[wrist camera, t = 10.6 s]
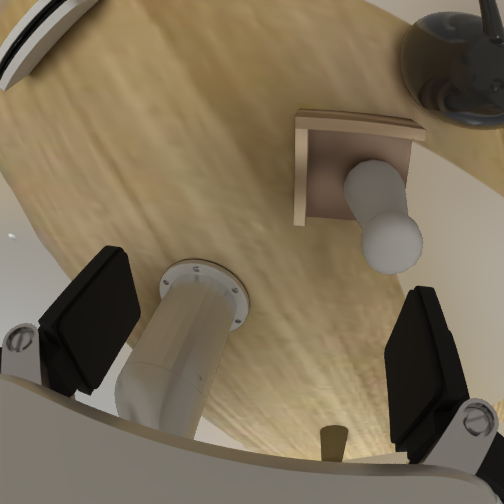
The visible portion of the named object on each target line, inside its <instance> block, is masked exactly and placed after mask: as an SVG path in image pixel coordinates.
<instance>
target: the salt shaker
mask: <svg viewBox="0 0 504 504" xmlns="http://www.w3.org/2000/svg"><path fill="white" fill-rule="evenodd" d="M344 198H345V200H346V202H347V203H348V205H349V207H350V209H351V211H352V212H353V214H354V216H355V217H356V219H357V221H358V223H359V224H360V226H361V228H362V230H363V231H362V233H361V248H362V253H363V255H364V257H365V259H366V261H367V263H368V265H369V266H370V267H371V268H373V269H374V270H376V271H377V272H379V273H383V274H389V275H393V274H397V273H402V272H404V271H406V270H408V269H409V268H410V267H412V266H413V265H415V264H416V262H417V261H418V259H419V257H420V256H421V254H422V247H423V238H422V235H421V232H420V230H419V228H418V225H417V224H416V222H415V221H414V220H413V219H412V218H410V217H409V216H408V209H407V200H406V193H405V185H404V182H403V180H402V178H401V176H400V174H399V172H398V171H397V170H396V169H395V168H393V167H392V166H391V165H390V164H389V163H387V162H384V161H379V160H374V159H373V160H368V161H364V162H360V163H359V164H358V165H356V166H355V167H354V168H353V169H352V170H350V171H349V174H348V176H347V178H346V180H345V182H344Z"/></svg>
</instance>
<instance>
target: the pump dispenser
mask: <svg viewBox="0 0 504 504" xmlns="http://www.w3.org/2000/svg"><path fill="white" fill-rule="evenodd" d="M479 4H480V10H481V16H482V17H480V16H477V15H473V14H469V13H463V12H438V13H434V14H430V15H427V16H425V17H423V18H421V19H419V20H418V21H417V22H415V23H414V24H413V25H412V26H411V27H410V29H409V30H408V32H407V33H406V35H405V37H404V40H403V43H402V46H401V52H400V64H401V71H402V75H403V78H404V81H405V84H406V86H407V88H408V90H409V92H410V93H411V95H412V96H413V98H414V99H415V101H416V102H417V103H418V104H419V105H420V106H421V107H422V108H423V109H424V110H425V111H426V112H428V113H429V114H430V115H432V116H433V117H435V118H437V119H439V120H441V121H443V122H445V123H448V124H451V125H454V126H458V127H462V128H467V129H474V130H495V129H501V128H504V27H503V25H502V21H501V17H500V14H499V10H498V7H497V4H496V1H495V0H479Z"/></svg>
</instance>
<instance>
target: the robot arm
mask: <svg viewBox="0 0 504 504" xmlns="http://www.w3.org/2000/svg"><path fill="white" fill-rule="evenodd" d="M159 288H160V296H161V299H162V301H161V303H160V304H159V306H158V308H157V309H156V311H155V313H154V314H153V316H152V318H151V320H150V321H149V323H148V325H147V326H146V328H145V330H144V332H143V333H142V335H141V337H140V338H139V340H138V342H137V344H136V345H135V347H134V349H133V351H132V353H131V354H130V356H129V358H128V360H127V361H126V363H125V365H124V367H123V369H122V370H121V372H120V374H119V376H118V378H117V381H116V385H115V403H116V408H117V412H118V415H119V417H117V416H114V415H111V414H109V413H106V412H103V411H101V410H98V409H96V408H93V407H91V406H88V405H86V404H83V403H81V402H79V401H76V400H75V395H74V393H75V392H76V390H77V389H78V391H80V392H83V393H85V394H87V395H91V394H92V392H93V390H94V389H97V388H98V387H99V386H100V384H101V382H102V381H103V379H104V377H105V376H106V374H107V372H108V370H109V369H110V367H111V365H112V363H113V362H114V360H115V358H116V357H117V355H118V353H119V352H120V350H121V348H122V347H123V345H124V343H125V342H126V340H127V338H128V337H129V335H130V333H131V332H132V330H133V328H134V327H135V325H136V323H137V322H138V320H139V318H140V314H141V310H140V306H139V302H138V298H137V294H136V290H135V286H134V282H133V277H132V273H131V269H130V264H129V260H128V255H127V253H126V252H124V250H123V249H122V248H121V247H115V246H105V247H104V248H103V249H102V250H101V251H100V252H99V253H98V254H97V255H96V256H95V257H94V258H93V259H92V260H91V261H90V262H89V263H88V265H87V266H86V267H85V268H84V269H83V270H82V271H81V272H80V273H79V274H78V275H77V277H76V278H75V279H74V280H73V281H72V282H71V283H70V284H69V285H68V287H67V288H66V289H65V290H64V291H63V292H62V293H61V295H60V296H59V297H58V298H57V299H56V300H55V302H54V303H53V304H52V305H51V306H50V307H49V309H48V310H47V311H46V312H45V313H44V314H43V316H42V317H41V318H40V319H39V321H38V322H39V324H40V327H39V328H38V329H37V328H36V327H35V326H34V325H32V324H28V323H24V324H20V325H17V326H15V327H14V328H12V329H11V330H10V331H9V332H8V333H7V334H6V336H5V338H4V340H3V344H2V347H0V504H504V437H503V436H502V435H501V434H499V433H498V432H497V430H498V426H499V424H498V416H497V413H496V411H495V410H494V408H493V407H492V406H491V405H490V404H489V403H488V402H486V401H484V400H482V399H478V398H474V399H470V397H469V393H468V389H467V385H466V381H465V377H464V373H463V369H462V366H461V362H460V359H459V355H458V352H457V348H456V345H455V342H454V339H453V336H452V333H451V332H450V331H449V330H448V327H447V324H446V321H445V318H444V315H443V312H442V309H441V306H440V304H439V301H438V298H437V295H436V292H435V290H434V288H432V287H425V286H416V287H415V288H414V290H410V291H409V292H408V294H407V297H406V300H405V302H404V305H403V307H402V310H401V312H400V314H399V317H398V319H397V322H396V324H395V326H394V329H393V331H392V333H391V336H390V338H389V340H388V342H387V345H386V347H385V352H384V359H385V368H386V378H387V390H388V402H389V418H390V438H391V442H392V443H395V450H396V452H407V458H408V459H409V460H408V462H407V463H406V464H364V463H344V462H328V461H315V460H305V459H295V458H287V457H280V456H272V455H266V454H260V453H254V452H247V451H242V450H237V449H232V448H226V447H222V446H217V445H213V444H209V443H204V442H200V441H196V440H193V439H194V436H195V433H196V429H197V426H198V423H199V420H200V417H201V414H202V411H203V408H204V405H205V402H206V399H207V396H208V393H209V390H210V388H211V385H212V382H213V379H214V376H215V373H216V370H217V367H218V364H219V361H220V358H221V355H222V352H223V349H224V346H225V344H226V341H227V338H228V335H229V332H232V331H234V330H236V329H237V328H239V327H240V326H241V325H242V324H243V323H244V321H245V320H246V317H247V315H248V311H249V298H248V294H247V292H246V290H245V288H244V286H243V285H242V284H241V282H240V281H239V280H238V279H237V278H236V277H235V276H234V275H233V274H232V273H230V272H229V271H227V270H226V269H224V268H223V267H220V266H218V265H216V264H214V263H211V262H207V261H203V260H185V261H180V262H178V263H176V264H174V265H172V266H171V267H170V268H168V269H167V271H166V272H165V274H164V275H163V277H162V279H161V281H160V286H159Z"/></svg>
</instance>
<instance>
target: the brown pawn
mask: <svg viewBox="0 0 504 504" xmlns="http://www.w3.org/2000/svg"><path fill="white" fill-rule="evenodd" d="M347 435H348V429H347V428H346V427H343V426H338V425H332V426H326V427H324V428H322V429H321V431H320V436H321V457H322V461H328V462H342V459H343V454H344V450H345V445H346V440H347Z"/></svg>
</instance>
